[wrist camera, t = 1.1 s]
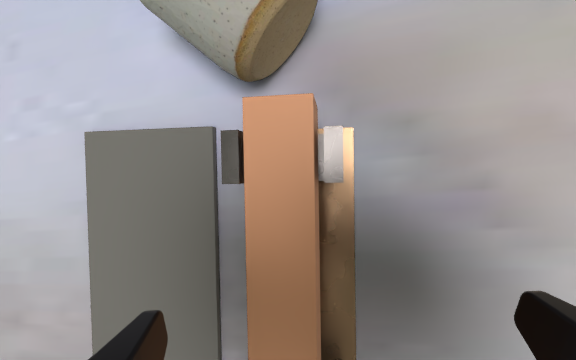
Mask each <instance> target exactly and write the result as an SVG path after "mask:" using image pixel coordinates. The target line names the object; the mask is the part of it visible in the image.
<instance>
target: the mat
mask: <svg viewBox="0 0 576 360" xmlns="http://www.w3.org/2000/svg"><path fill="white" fill-rule="evenodd" d="M85 159H86V186H87V213H88V240H89V267H90V294H91V321H92V348H93V355H94V354H95V353H96V352H97V351H99V350H100V349H101V348H102V347H103V346H104V345H105V344H106V343H108V342H109V341H110V340H111V339H112V338H113V337H114V336H116V335H117V334H118V333H119V332H120V331H121V330H122V329H123V328H125V327H126V326H127V325H128V324H129V323H130V322H131V321H133V320H134V319H135V318H136V317H137V316H138V315H139V314H140V313H142V312H144V311H149V310H160V311H162V313H163V316H164V320H165V325H166V329H167V334H168V343H167V348H166V353H165V357H164V360H221V322H220V282H219V241H218V200H217V159H216V128H215V127H190V128H167V129H143V130H120V131H97V132H85Z"/></svg>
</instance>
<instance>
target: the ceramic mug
mask: <svg viewBox="0 0 576 360" xmlns="http://www.w3.org/2000/svg"><path fill="white" fill-rule="evenodd" d="M140 1H141V2H142V3H143V5H144V6H145V7H146V8H148V9H149V10H150V11H151V12H152V13H153V14H155V15H156V16H157V17H159V18H160V19H161V20H163V21H164V22H165V23H166V24H167V25H169V26H170V27H171V28H172V29H173V30H175V31H176V32H177V33H178V34H180V35H181V36H182V37H183V38H184V39H186V40H187V41H188V42H190V43H191V44H192V45H194V46H195V47H196V48H197V49H199V50H200V51H201V52H202V53H203V54H205V55H206V56H207V57H208V58H209V59H211V60H212V61H213V62H214V63H216V64H217V65H218V66H219V67H220V68H222V69H223V70H224V71H226V72H228V73H230V74H232V75H233V76H235V77H236V78H238V79H241V80H243V81H247V82H251V81H257V80H261V79H264V78H265V77H267V76H269V75H271V74H272V73H273V72H275V71H276V70H277V69H278V68H279V67H280V66H281V65H282V64H283V63H284V62H285V61H286V60H287V58H288V57H289V56H290V54H291V53H292V52H293V51H294V50H295V48H296V47H297V45H298V44H299V42H300V40H301V39H302V37H303V36H304V34H305V32H306V30H307V28H308V26H309V24H310V22H311V20H312V17H313V15H314V11H315V8H316V4H317V0H140Z"/></svg>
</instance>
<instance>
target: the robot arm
mask: <svg viewBox="0 0 576 360" xmlns="http://www.w3.org/2000/svg"><path fill="white" fill-rule="evenodd" d="M514 321H515V324H516V326H517V328H518V330H519V331H520V333H521V335H522V336H523V338H524V340H525V341H526V343H527V345H528V346H529V348H530V350H531V351H532V353H533V355H534V356H535V358H536V360H576V306H573V305H571V304H569V303H567V302H565V301H563V300H561V299H558V298H556V297H554V296H552V295H550V294H548V293H546V292H543V291H526V292H524V293H522V295H521V297H520V300H519V303H518V305H517V308H516V311H515V314H514ZM167 343H168V334H167V329H166V325H165V320H164V316H163V313H162V311H160V310H149V311H144V312H142V313H140V314H139V315H138V316H137V317H136V318H135V319H134V320H133V321H131V322H130V323H129V324H128V325H127V326H126V327H125V328H123V329H122V330H121V331H120V332H119V333H118V334H117V335H116V336H114V337H113V338H112V339H111V340H110V341H109V342H108V343H106V344H105V345H104V346H103V347H102V348H101V349H100V350H99V351H97V352H96V353H95V354H94V355H93V356H92V357H91V358H89V359H88V360H164V357H165V353H166V348H167Z"/></svg>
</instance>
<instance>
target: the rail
mask: <svg viewBox="0 0 576 360" xmlns="http://www.w3.org/2000/svg"><path fill="white" fill-rule="evenodd" d="M243 142H244V188H245V234H246V279H247V325H248V360H321V316H320V249H319V181H318V114H317V105H316V102H315V98H314V95H313V93H310V94H293V95H275V96H258V97H243Z"/></svg>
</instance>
